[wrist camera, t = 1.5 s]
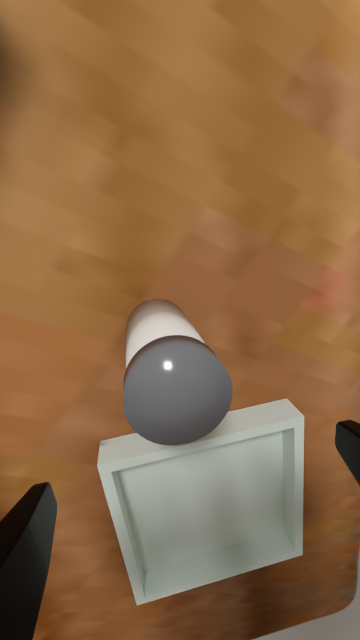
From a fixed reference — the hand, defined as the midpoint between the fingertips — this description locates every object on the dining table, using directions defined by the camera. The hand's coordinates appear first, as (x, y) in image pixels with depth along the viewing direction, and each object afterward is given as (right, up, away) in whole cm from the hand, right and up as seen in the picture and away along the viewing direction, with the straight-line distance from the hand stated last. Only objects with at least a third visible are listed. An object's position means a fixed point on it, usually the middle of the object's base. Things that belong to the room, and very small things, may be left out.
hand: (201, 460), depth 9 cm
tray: (+2, -11, +17) cm, 20 cm away
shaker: (-2, +4, +12) cm, 12 cm away
